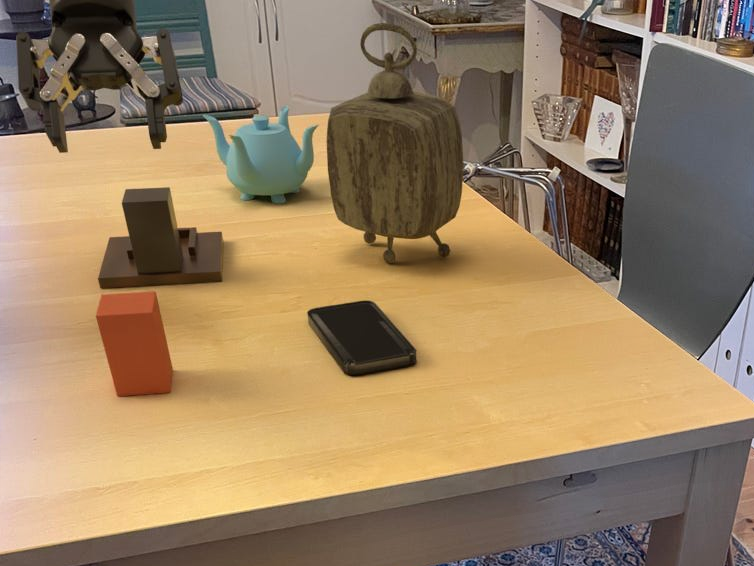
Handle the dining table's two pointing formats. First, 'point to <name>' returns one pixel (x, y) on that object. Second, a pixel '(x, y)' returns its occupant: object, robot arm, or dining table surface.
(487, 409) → the dining table surface
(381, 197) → the tabletop clock
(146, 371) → the terracotta block
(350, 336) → the phone
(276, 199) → the teapot
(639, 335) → the dining table surface
